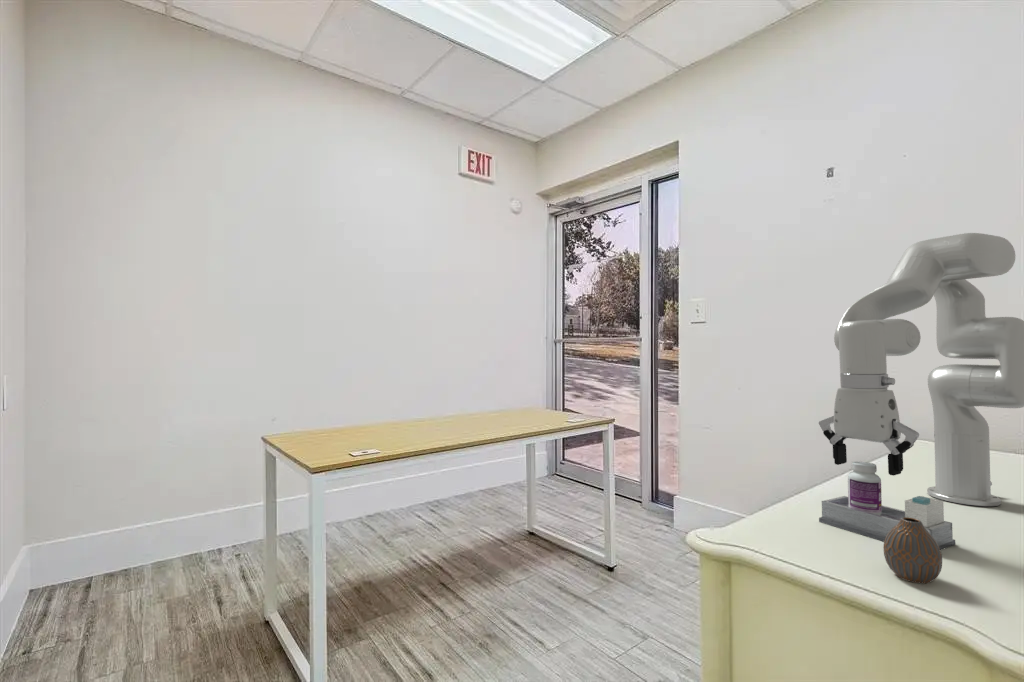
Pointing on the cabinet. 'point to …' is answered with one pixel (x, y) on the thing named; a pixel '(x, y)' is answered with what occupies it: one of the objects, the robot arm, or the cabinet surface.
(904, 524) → the vase
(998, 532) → the cabinet surface
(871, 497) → the pill bottle
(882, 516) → the grey tray
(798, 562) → the cabinet surface
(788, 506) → the cabinet surface
